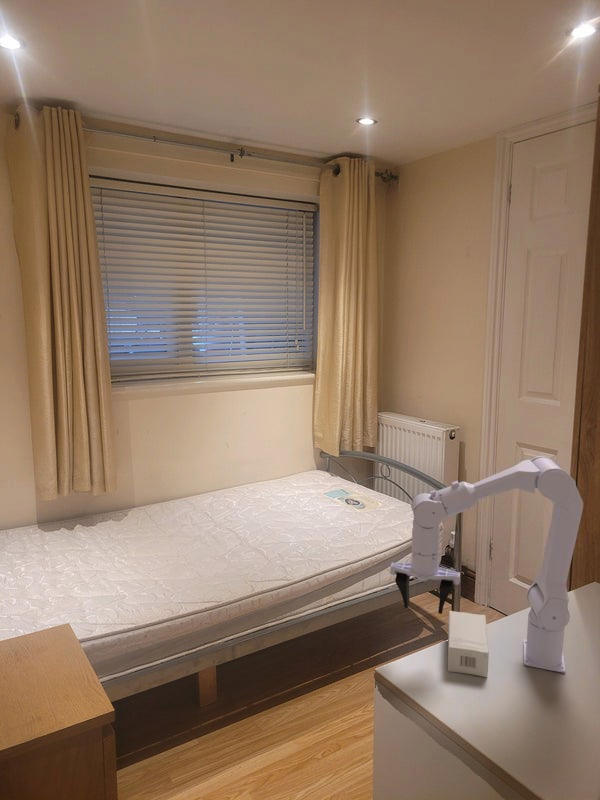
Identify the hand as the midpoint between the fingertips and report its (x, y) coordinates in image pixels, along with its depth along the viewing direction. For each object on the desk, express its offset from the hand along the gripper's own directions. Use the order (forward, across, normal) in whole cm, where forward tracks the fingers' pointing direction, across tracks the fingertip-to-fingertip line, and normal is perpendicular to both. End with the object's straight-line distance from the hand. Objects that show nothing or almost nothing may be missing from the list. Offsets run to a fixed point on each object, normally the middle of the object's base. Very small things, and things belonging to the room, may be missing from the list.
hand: (423, 608), depth 126 cm
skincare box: (+7, +10, -5) cm, 13 cm away
